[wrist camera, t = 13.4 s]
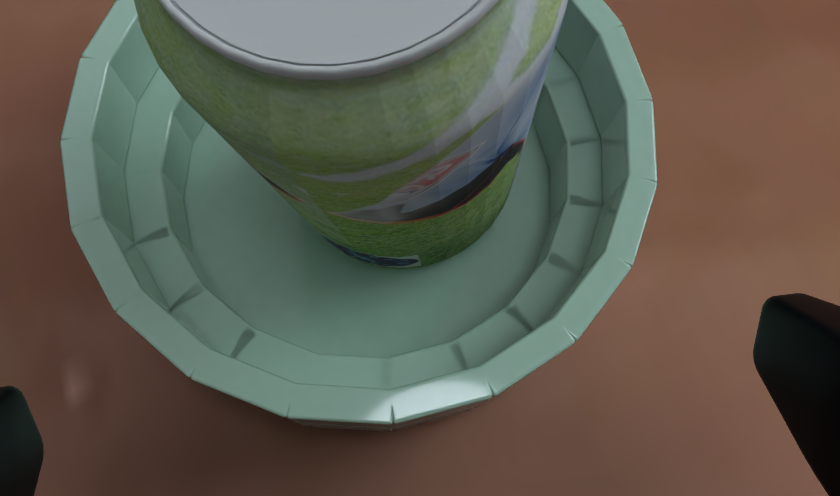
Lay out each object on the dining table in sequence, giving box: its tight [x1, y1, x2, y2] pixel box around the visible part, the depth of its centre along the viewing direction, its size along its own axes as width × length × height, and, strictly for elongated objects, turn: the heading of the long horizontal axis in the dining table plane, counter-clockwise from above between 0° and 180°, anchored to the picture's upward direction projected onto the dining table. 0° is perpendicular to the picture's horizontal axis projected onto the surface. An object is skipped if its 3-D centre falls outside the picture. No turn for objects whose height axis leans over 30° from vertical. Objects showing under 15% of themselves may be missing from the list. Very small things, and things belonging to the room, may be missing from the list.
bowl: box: [60, 0, 657, 431], centre depth 18 cm, size 13×13×4 cm
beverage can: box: [134, 0, 568, 269], centre depth 13 cm, size 6×7×12 cm
